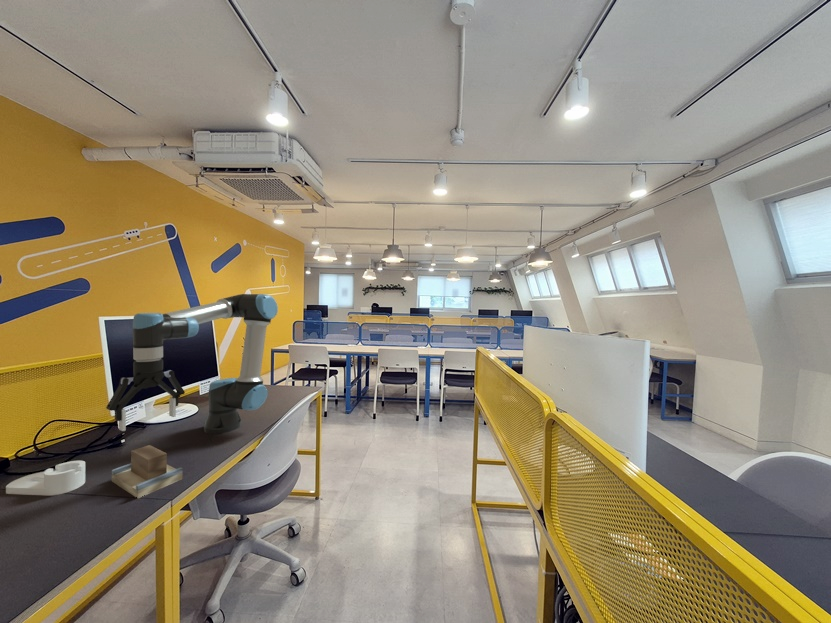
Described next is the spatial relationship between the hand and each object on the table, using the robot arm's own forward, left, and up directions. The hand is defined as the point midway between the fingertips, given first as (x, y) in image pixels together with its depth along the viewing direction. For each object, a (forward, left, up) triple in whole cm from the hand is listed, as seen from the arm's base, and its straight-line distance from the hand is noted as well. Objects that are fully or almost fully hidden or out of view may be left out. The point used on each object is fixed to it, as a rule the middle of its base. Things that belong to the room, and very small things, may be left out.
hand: (148, 422), depth 103 cm
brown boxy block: (0, 0, -17) cm, 17 cm away
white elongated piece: (+17, -22, -20) cm, 34 cm away
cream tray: (0, 0, -19) cm, 19 cm away
